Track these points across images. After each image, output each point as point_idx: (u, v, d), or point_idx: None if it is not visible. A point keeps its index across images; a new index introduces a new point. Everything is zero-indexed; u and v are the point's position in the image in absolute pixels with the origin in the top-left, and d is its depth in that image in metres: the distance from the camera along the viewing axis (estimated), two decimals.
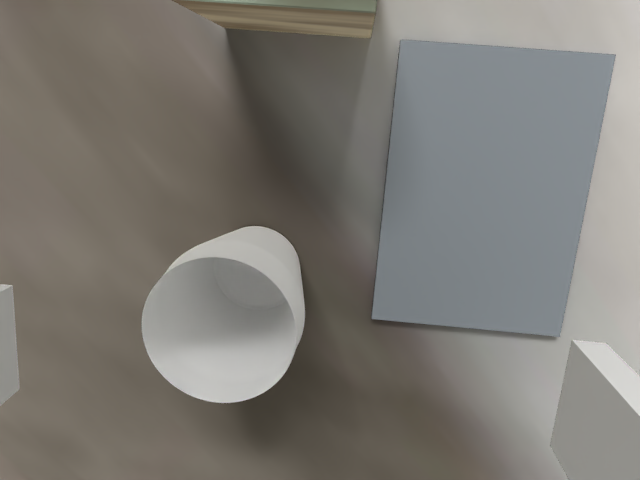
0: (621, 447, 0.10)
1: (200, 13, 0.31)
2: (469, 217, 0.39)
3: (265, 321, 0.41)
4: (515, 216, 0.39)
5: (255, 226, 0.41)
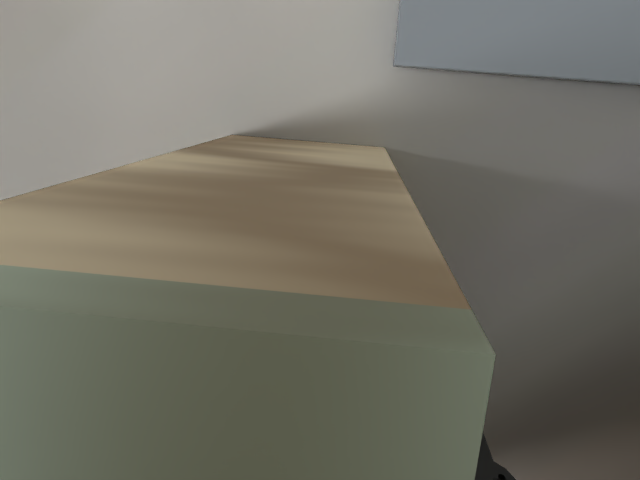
0: None
1: None
2: None
3: None
4: None
5: None
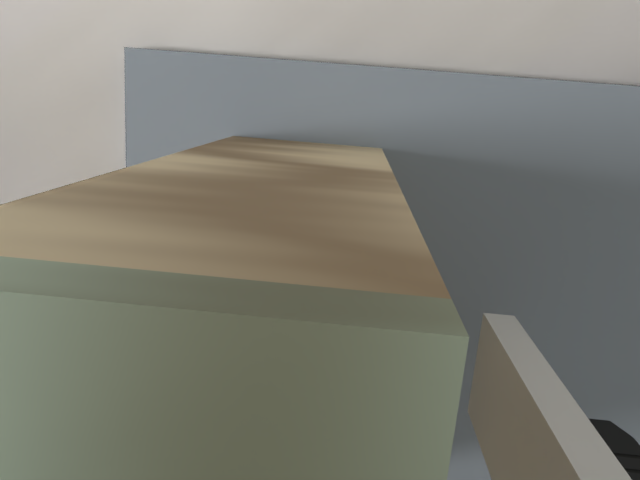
0: (507, 402, 0.11)
1: None
2: None
3: None
4: (529, 256, 0.15)
5: None
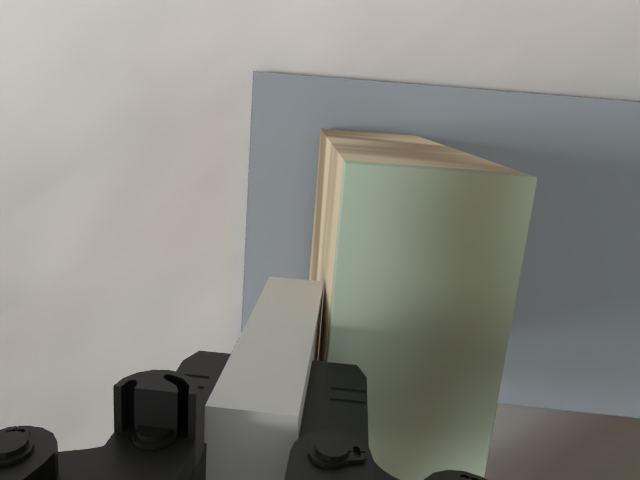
0: None
1: None
2: None
3: None
4: None
5: None
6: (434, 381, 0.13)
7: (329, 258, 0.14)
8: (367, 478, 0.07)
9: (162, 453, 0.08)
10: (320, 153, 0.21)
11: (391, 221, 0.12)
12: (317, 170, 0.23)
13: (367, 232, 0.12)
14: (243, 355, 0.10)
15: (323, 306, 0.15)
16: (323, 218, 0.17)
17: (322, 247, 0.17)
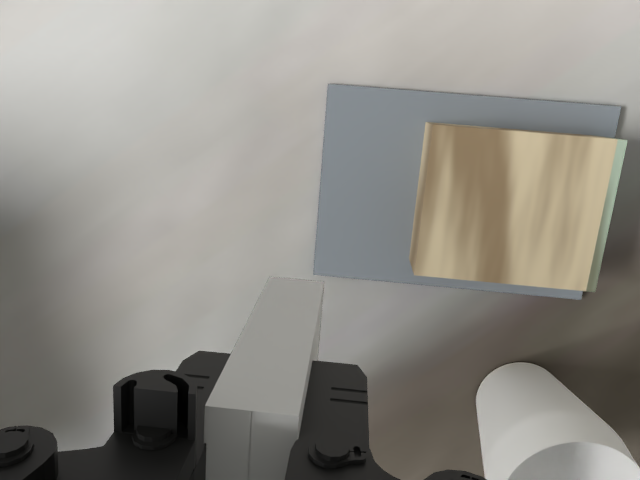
0: None
1: None
2: None
3: None
4: None
5: (476, 400, 0.44)
6: None
7: (586, 179, 0.35)
8: (367, 478, 0.07)
9: (162, 453, 0.08)
10: (458, 140, 0.35)
11: None
12: (435, 152, 0.35)
13: None
14: (243, 355, 0.10)
15: (573, 202, 0.35)
16: (531, 170, 0.35)
17: (539, 183, 0.35)
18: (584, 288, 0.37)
